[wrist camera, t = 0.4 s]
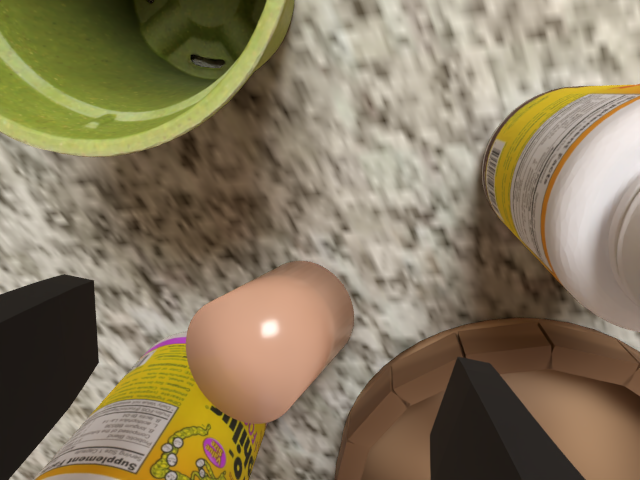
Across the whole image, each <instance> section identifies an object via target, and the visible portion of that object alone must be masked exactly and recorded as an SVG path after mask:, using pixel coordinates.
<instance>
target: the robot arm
mask: <svg viewBox="0 0 640 480" xmlns="http://www.w3.org/2000/svg"><path fill="white" fill-rule="evenodd" d="M98 363H99V359H98V343H97V326H96V310H95V294H94V280H89V279H84V278H79V277H75V276H70V275H65V274H64V275H60V276H56V277H53V278H49V279H46V280H43V281H39V282H36V283H33V284H30V285H27V286H24V287H21V288H18V289H15V290H12V291H9V292H7V293H4V294H1V295H0V480H9V478H10V477H11V476H12V475H13V474H14V473H15V471H16V470H17V469H18V468H19V467H20V466H21V464H22V463H23V462H24V461H25V460H26V459H27V457H28V456H29V455H30V454H31V453H32V451H33V450H34V449H35V448H36V447H37V446H38V444H39V443H40V442H41V441H42V440H43V439H44V437H45V436H46V435H47V434H48V433H49V431H50V430H51V429H52V428H53V427H54V425H55V424H56V423H57V422H58V421H59V419H60V418H61V417H62V416H63V415H64V413H65V412H66V411H67V410H68V408H69V407H70V406H71V404H72V403H73V401H74V400H75V398H76V397H77V395H78V394H79V392H80V391H81V390H82V388H83V387H84V385H85V383H86V382H87V380H88V379H89V377H90V375H91V374H92V372H93V371H94V369H95V367H96V366H97V364H98ZM430 475H431V480H586V479H585V478H584V477H583V476H582V475H581V474H580V472H579V471H578V470H577V469H576V468H575V467H574V466H573V464H572V463H571V462H570V461H569V460H568V458H567V457H566V456H565V455H564V454H563V452H562V451H561V450H560V449H559V448H558V446H557V445H556V444H555V443H554V442H553V440H552V439H551V438H550V437H549V436H548V434H547V433H546V432H545V431H544V429H543V428H542V427H541V426H540V424H539V423H538V422H537V421H536V419H535V418H534V417H533V416H532V414H531V413H530V412H529V411H528V409H527V408H526V407H525V406H524V404H523V403H522V402H521V401H520V399H519V398H518V397H517V396H516V394H515V393H514V392H513V391H512V389H511V388H510V387H509V385H508V384H507V383H506V382H505V380H504V379H503V378H502V377H501V376H500V374H499V373H498V372H497V371H496V369H495V368H494V367H493V366H492V365H491V364H490V363H487V362H482V361H477V360H473V359H468V358H463V357H457V360H456V362H455V365H454V368H453V371H452V374H451V376H450V379H449V382H448V385H447V388H446V391H445V393H444V396H443V399H442V402H441V405H440V407H439V410H438V413H437V416H436V419H435V422H434V424H433V427H432V430H431V433H430Z"/></svg>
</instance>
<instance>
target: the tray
mask: <svg viewBox="0 0 640 480" xmlns="http://www.w3.org/2000/svg"><path fill="white" fill-rule="evenodd" d="M457 357H463V358H468V359H473V360H477V361H482V362H487V363H490V364H491V365H492V366H493V367H494V368H495V369H496V371H497V372H498V373H499V374H500V376H501V377H502V378H503V379H504V380H505V382H506V383H507V384H508V385H509V387H510V388H511V389H512V391H513V392H514V393H515V394H516V396H517V397H518V398H519V399H520V401H521V402H522V403H523V404H524V406H525V407H526V408H527V409H528V411H529V412H530V413H531V414H532V416H533V417H534V418H535V419H536V421H537V422H538V423H539V424H540V426H541V427H542V428H543V429H544V431H545V432H546V433H547V434H548V436H549V437H550V438H551V439H552V440H553V442H554V443H555V444H556V445H557V446H558V448H559V449H560V450H561V451H562V452H563V454H564V455H565V456H566V457H567V458H568V460H569V461H570V462H571V463H572V464H573V466H574V467H575V468H576V469H577V470H578V471H579V472H580V474H581V475H582V476H583V477H584V478H585V479H586V480H640V352H639V351H637V350H635V349H634V348H632V347H630V346H629V345H627V344H625V343H623V342H622V341H620V340H618V339H616V338H613V337H611V336H609V335H606V334H604V333H602V332H599V331H597V330H594V329H590V328H587V327H583V326H580V325H576V324H573V323H568V322H562V321H555V320H549V319H537V318H507V319H492V320H487V321H482V322H476V323H471V324H466V325H463V326H459V327H456V328H453V329H449V330H446V331H443V332H441V333H438V334H436V335H434V336H431V337H429V338H427V339H425V340H422V341H420V342H419V343H417V344H415V345H414V346H412V347H410V348H408V349H407V350H405V351H403V352H402V353H400V354H399V355H398V356H396V357H395V358H394V359H393V360H391V361H390V362H389V363H387V364H386V365H385V366H384V367H383V368H382V369H381V370H380V371H379V372H378V373H377V374H376V375H375V376H374V377H373V378H372V379H371V380H370V381H369V382H368V384H367V385H366V386H365V388H364V389H363V390H362V392H361V393H360V395H359V396H358V398H357V399H356V401H355V403H354V405H353V407H352V409H351V411H350V413H349V415H348V418H347V421H346V424H345V427H344V430H343V436H342V442H341V447H340V451H339V455H338V459H337V463H336V471H335V480H431V475H430V433H431V430H432V427H433V424H434V422H435V419H436V416H437V413H438V410H439V407H440V405H441V402H442V399H443V396H444V393H445V391H446V388H447V385H448V382H449V379H450V376H451V374H452V371H453V368H454V365H455V362H456V360H457Z"/></svg>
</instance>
